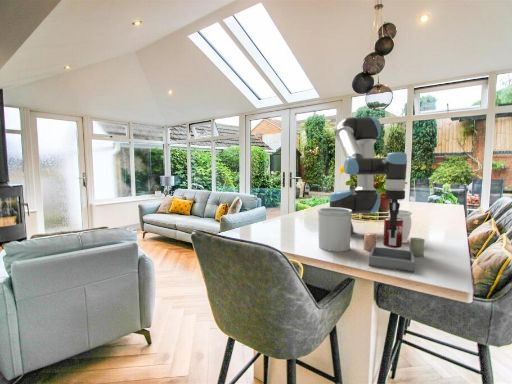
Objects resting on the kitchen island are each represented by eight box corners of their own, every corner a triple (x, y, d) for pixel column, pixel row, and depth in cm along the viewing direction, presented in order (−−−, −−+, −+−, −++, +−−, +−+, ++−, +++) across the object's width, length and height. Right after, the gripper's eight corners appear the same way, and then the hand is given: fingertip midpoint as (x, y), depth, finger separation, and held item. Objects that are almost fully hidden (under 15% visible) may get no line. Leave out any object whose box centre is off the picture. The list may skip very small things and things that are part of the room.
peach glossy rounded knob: (363, 250, 122) (363, 234, 121) (364, 247, 126) (365, 232, 126) (375, 251, 120) (376, 236, 119) (376, 249, 124) (377, 233, 123)
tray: (368, 265, 102) (369, 256, 102) (372, 254, 115) (372, 246, 115) (414, 272, 96) (414, 262, 95) (412, 260, 109) (413, 251, 108)
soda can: (379, 244, 122) (381, 217, 121) (395, 243, 123) (396, 217, 122) (389, 249, 115) (390, 220, 114) (405, 248, 116) (407, 220, 114)
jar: (409, 240, 140) (411, 210, 138) (411, 245, 130) (412, 213, 129) (386, 237, 144) (387, 209, 143) (386, 242, 135) (387, 212, 134)
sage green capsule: (409, 256, 114) (410, 239, 113) (409, 253, 118) (410, 237, 117) (424, 258, 111) (425, 241, 111) (423, 254, 116) (424, 238, 115)
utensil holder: (332, 254, 116) (334, 213, 115) (310, 245, 130) (311, 208, 128) (358, 249, 123) (359, 210, 122) (334, 241, 136) (335, 206, 135)
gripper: (405, 191, 106) (402, 250, 108) (405, 188, 124) (402, 238, 126) (384, 191, 109) (381, 247, 112) (386, 187, 127) (384, 236, 129)
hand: (392, 242), depth 119 cm, fingers closed on soda can, 7 cm apart
